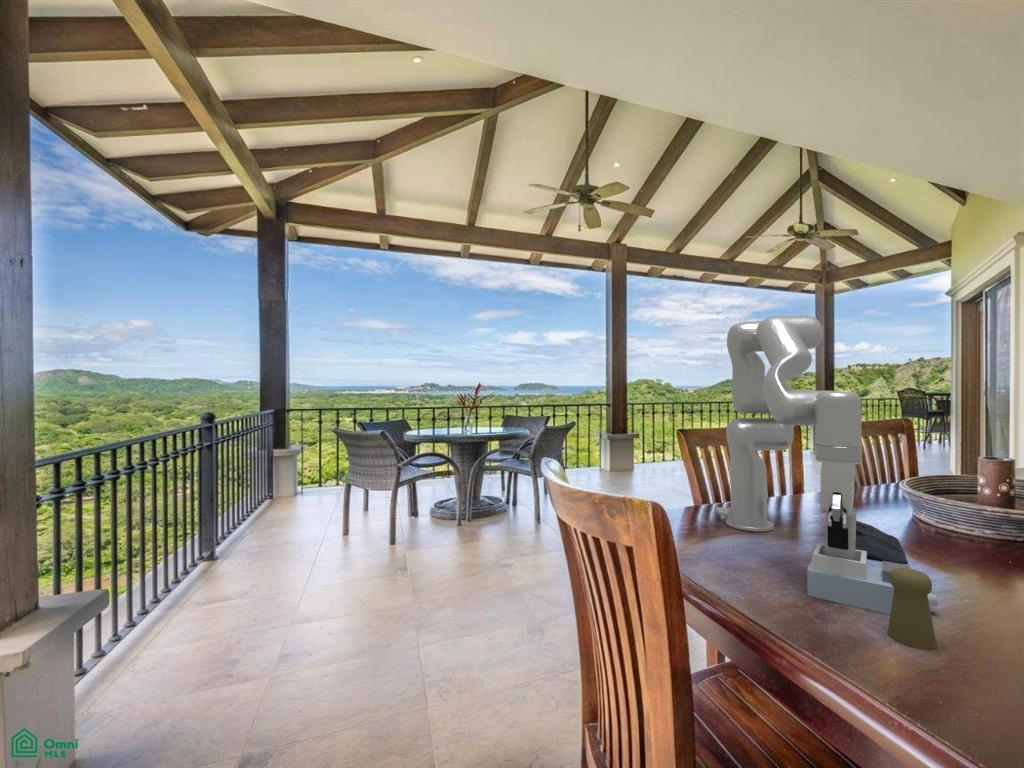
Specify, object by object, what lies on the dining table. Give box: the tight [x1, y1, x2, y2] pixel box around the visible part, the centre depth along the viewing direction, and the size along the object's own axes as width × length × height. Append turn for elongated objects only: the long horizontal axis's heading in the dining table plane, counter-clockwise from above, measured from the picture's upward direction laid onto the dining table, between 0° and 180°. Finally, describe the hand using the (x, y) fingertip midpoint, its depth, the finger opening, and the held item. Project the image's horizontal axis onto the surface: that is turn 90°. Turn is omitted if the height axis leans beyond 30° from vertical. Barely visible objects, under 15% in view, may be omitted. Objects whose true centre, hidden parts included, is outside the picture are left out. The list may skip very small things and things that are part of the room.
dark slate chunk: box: [855, 520, 909, 565], centre depth 117 cm, size 15×22×5 cm
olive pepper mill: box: [887, 568, 938, 650], centre depth 74 cm, size 6×6×11 cm
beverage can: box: [824, 506, 857, 561], centre depth 91 cm, size 5×5×12 cm
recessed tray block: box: [806, 542, 939, 616], centre depth 88 cm, size 19×10×8 cm, turn 51°
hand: (839, 541), depth 91 cm, fingers open, 9 cm apart
